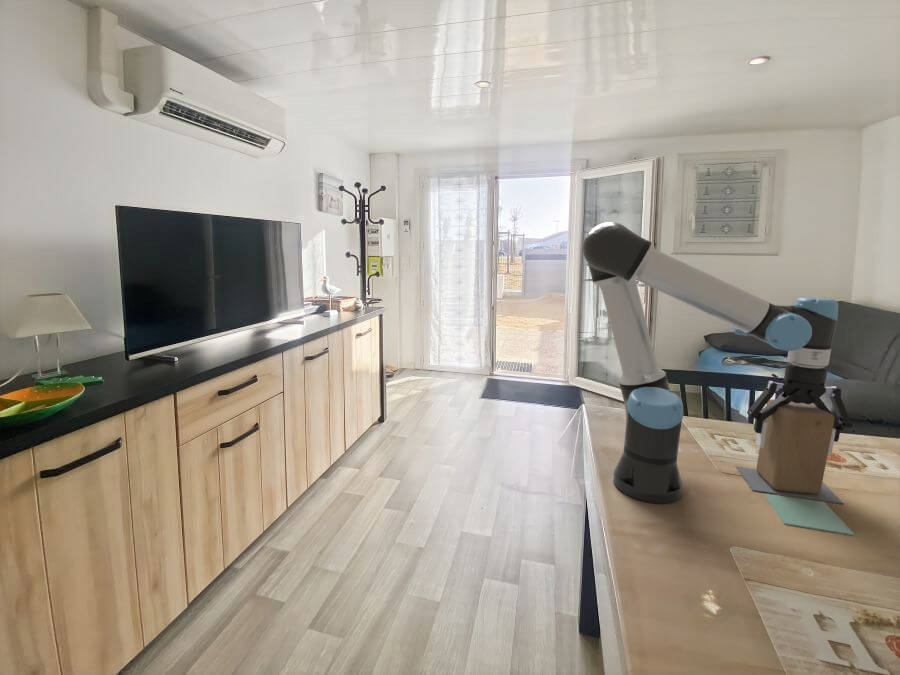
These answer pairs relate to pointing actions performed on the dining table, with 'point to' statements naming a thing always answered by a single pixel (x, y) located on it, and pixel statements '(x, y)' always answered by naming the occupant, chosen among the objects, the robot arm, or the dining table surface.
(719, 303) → the robot arm
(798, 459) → the wooden block
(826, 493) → the mat
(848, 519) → the dining table surface
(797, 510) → the pad
